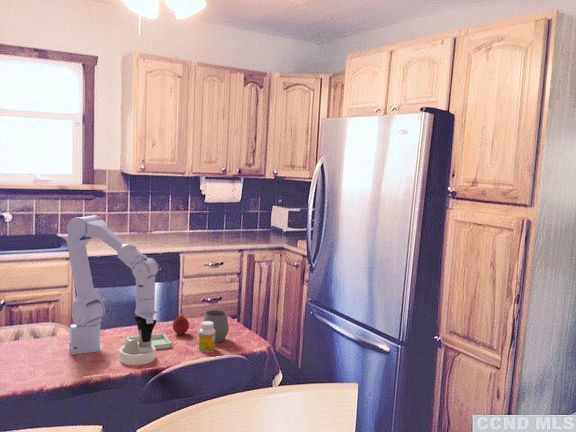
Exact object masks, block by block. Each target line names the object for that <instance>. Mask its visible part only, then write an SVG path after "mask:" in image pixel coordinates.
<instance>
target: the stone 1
mask: <svg viewBox="0 0 576 432" xmlns="http://www.w3.org/2000/svg"><path fill="white" fill-rule="evenodd" d="M124 346H125V353H127V354H136V355H137V351H138V343H137V341H136V340H134V339H129V340H128V341H127V342H126V341H125V345H124Z"/></svg>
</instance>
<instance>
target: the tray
mask: <svg viewBox="0 0 576 432" xmlns="http://www.w3.org/2000/svg"><path fill="white" fill-rule="evenodd" d="M129 339H134V340H136V341H137V343H139V335H133V336H126V337H125V343H126V342H127V341H128V340H129ZM152 345H153V346H154V347H155V348H156V350H162V349H163V350H164V349H170V348H171V349H172V347H173V345H172V341H171V340H170V339H169V338H168V337H167V335H166V334H165V333H162V332H161V333H152Z"/></svg>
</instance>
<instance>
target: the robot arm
mask: <svg viewBox="0 0 576 432" xmlns="http://www.w3.org/2000/svg"><path fill="white" fill-rule="evenodd" d="M66 230H67V238H66V239H67V240H66V246H67V252H68V257H69V262H70V267H71V272H72V277H73V278H72V279H73V283H74V287H75V289H74V290H75V293H76V297H75V299H74V300H73V302H72V304H71V306H72V311H71V318H72V321H73V322H74V324H69V343H68V344H69V345H68V346H69V349H70V350H69V351H70V354H71V355H72V356H74V355H77V354H86V353H87V354H88V353H95V352H102V351H103V348H102V345H101V321H102V318H103V317H104V316H105V313H106V306H105V304H104V303H103V302H102V299H101V295H99V294H98V293H96V292H95V289H94V288H95V287H94V282H93V277H92V271H91V266H90V262H89V257H88V251H87V244H88V243H89V242H90V241H91V240H92V238H98V239H99V240H101V241H102V242H104V243H105V244H106V245H107V246H109V247H110V248H112V249H113V250H115V251H116V252H117V259H119V260H120V261H122V262H123V264H125V265H126V266H127V267H128V268H129V269H131V272H132V275H133V276H134V279H135V311H134V314H135V315H133V317H134V320H135V323H136V324H137V330H138V332H139V331H140V329H141V336H142V341H143V342H150V339H151V335H152V334H153V331H154V328H155V326H156V324H157V321H158V320H156V319H154V316H155V314H159V310H158V309H155V304H156V297H155V295H156V294H155V293H156V289H155V288H156V275H157V274H158V272H159V270H160V269H159V267H160V266H159V264H158V262H157V260H156V259H154V258H152V257H148V256H147V255H145V254H143V253H142V252H141V251H139V250H138V249H137V246H136V245H135V244H132V243H124V241H123V240H122V239H121V238H120V237H119V236H118V235H117V234H116V233H114V231H113V230H111V229H110V228H109V227H108V226H107V223H106V221H105V220H103V219H102V218H101V217H100V216H99V215H97V214H92V215H88V216H81V217H79V216H78V217H73V218H72V219H71V220H70V221H69V222H68V224H67V225H66Z"/></svg>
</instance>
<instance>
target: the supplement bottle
mask: <svg viewBox="0 0 576 432" xmlns="http://www.w3.org/2000/svg"><path fill="white" fill-rule="evenodd" d="M203 321H204V320H203ZM203 321H202V322H201V324H200V325H201V328H200V329H199V331H198V351H199V352H201V353H211V352H214V351H215V350H216V342H215V329H214V328H213V326H214V323H213V322H211V321H204V322H203Z"/></svg>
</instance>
